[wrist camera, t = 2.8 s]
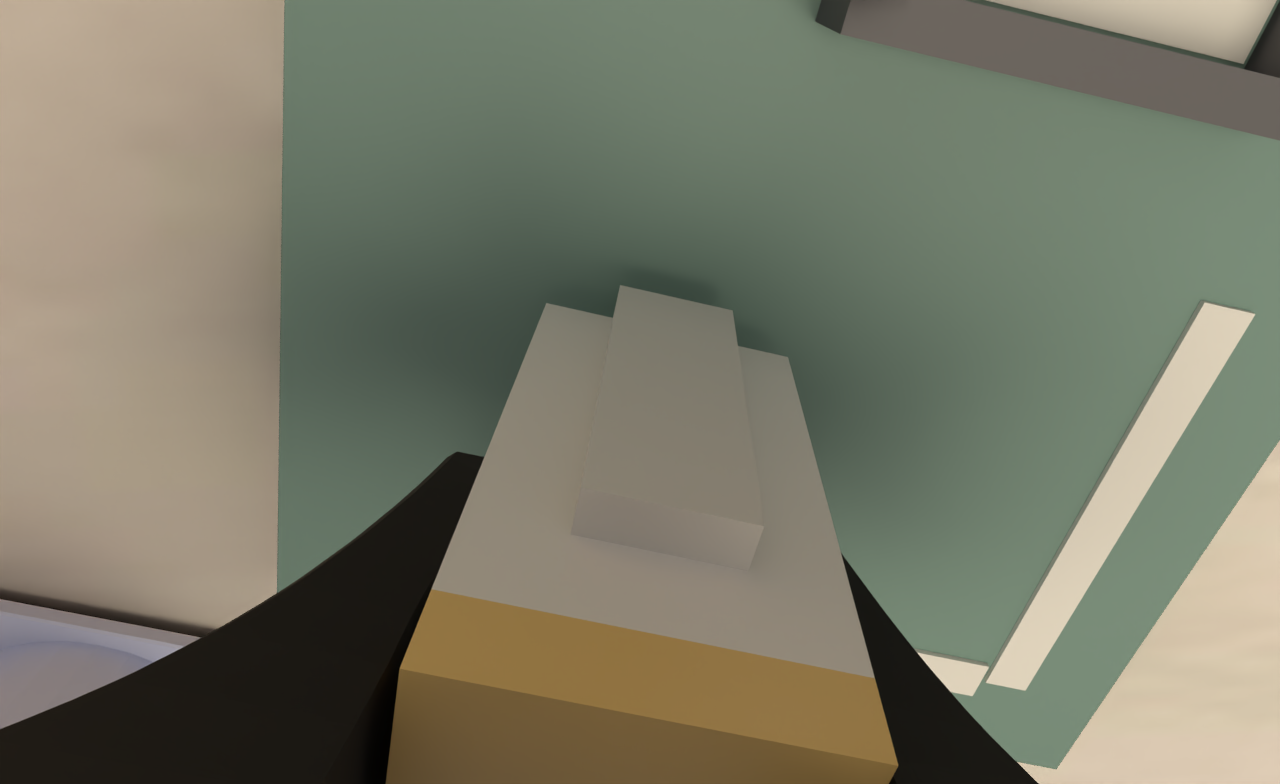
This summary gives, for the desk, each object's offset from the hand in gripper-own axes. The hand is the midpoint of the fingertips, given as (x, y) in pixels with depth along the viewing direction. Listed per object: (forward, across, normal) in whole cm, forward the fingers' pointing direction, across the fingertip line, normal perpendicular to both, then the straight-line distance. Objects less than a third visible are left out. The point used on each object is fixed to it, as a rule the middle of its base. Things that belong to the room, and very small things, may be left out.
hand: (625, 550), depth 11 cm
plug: (+2, 0, 0) cm, 2 cm away
